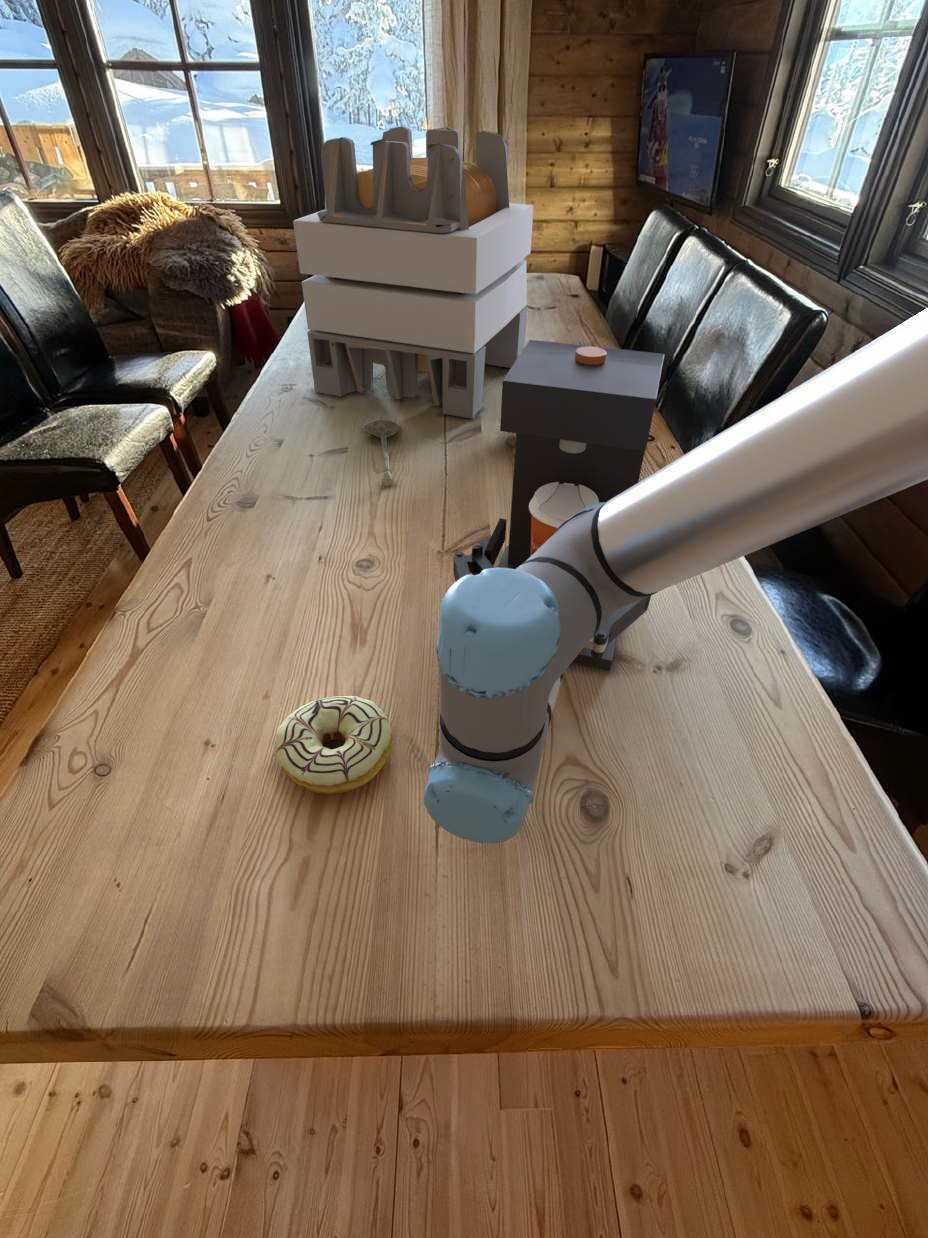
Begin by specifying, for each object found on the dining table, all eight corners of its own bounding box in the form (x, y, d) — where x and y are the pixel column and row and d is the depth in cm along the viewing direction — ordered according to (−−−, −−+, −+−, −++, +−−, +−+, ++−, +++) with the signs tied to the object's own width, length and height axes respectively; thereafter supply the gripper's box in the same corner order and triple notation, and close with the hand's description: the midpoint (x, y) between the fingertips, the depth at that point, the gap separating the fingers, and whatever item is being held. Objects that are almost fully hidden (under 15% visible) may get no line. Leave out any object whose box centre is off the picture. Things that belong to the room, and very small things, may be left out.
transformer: (526, 361, 143) (542, 128, 116) (474, 420, 120) (480, 147, 93) (385, 340, 152) (370, 120, 125) (311, 392, 129) (274, 135, 102)
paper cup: (525, 576, 82) (534, 475, 72) (587, 585, 81) (605, 483, 71) (516, 617, 76) (524, 512, 67) (583, 626, 75) (601, 521, 66)
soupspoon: (400, 428, 119) (364, 431, 118) (398, 410, 116) (361, 413, 116) (408, 485, 102) (365, 489, 101) (406, 464, 99) (362, 469, 99)
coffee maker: (610, 670, 72) (665, 419, 53) (469, 641, 75) (474, 395, 56) (626, 575, 85) (676, 346, 66) (506, 554, 88) (520, 330, 69)
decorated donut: (318, 700, 68) (313, 674, 66) (411, 732, 65) (409, 707, 63) (257, 777, 61) (249, 751, 58) (358, 818, 58) (354, 792, 55)
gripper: (387, 670, 62) (454, 547, 78) (656, 732, 57) (671, 587, 72) (381, 610, 57) (454, 491, 73) (675, 671, 52) (686, 529, 67)
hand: (562, 539), depth 72 cm, fingers open, 13 cm apart
